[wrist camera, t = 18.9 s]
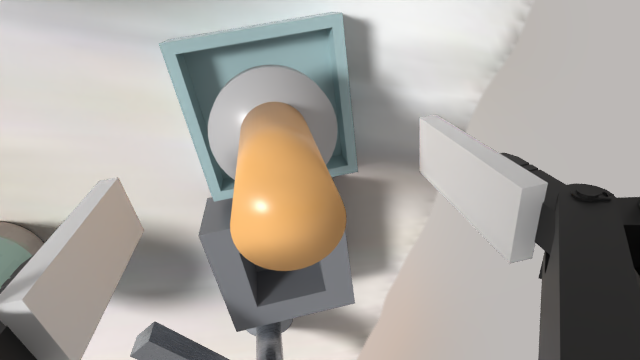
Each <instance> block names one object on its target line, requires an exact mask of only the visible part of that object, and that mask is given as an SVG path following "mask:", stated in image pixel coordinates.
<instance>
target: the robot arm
mask: <svg viewBox="0 0 640 360" xmlns="http://www.w3.org/2000/svg"><path fill="white" fill-rule="evenodd" d="M420 173H421V174H422V175H423V176H424V177H425V178H426V179H427V180H428V181H429V182H430V183H431V184H432V185H433V186H434V187H435V188H436V189H437V190H438V191H439V192H440V193H441V194H442V195H443V196H444V197H445V198H446V199H447V200H448V201H449V202H450V203H451V204H452V205H453V206H454V207H455V208H456V210H457V211H458V212H459V213H460V214H461V215H462V216H463V217H464V218H465V219H466V220H467V221H468V222H469V223H470V224H471V225H472V226H473V227H474V228H475V229H476V230H477V231H478V232H479V233H480V234H481V235H482V236H483V237H484V238H485V239H486V240H487V241H488V242H489V243H490V244H491V245H492V246H493V247H494V248H495V249H496V250H497V251H498V252H499V253H500V254H501V255H502V257H504V258H505V259H506V261H507V262H508V263H514V262H518V261H523V260H527V259H531V258H532V256H533V252H534V247H535V243H537V244H538V245H539V246H540V247H541V248H542V249H544V250H545V253H544V257H543V261H542V266H541V270H540V274H539V278H540V279H542V290H541V313H540V336H539V359H538V360H640V197H628V198H616V197H615V196H614V194H612V193H610V192H609V191H607V190H605V189H602V188H600V187H597V186H592V185H587V184H570V185H565V184H564V183H562V182H560V181H559V180H557V179H555V178H554V177H552V176H550V175H548V174H547V173H545V172H543V171H542V170H538V168H536V167H535V166H533V165H529V163H528V162H526V161H524V160H523V159H521V158H519V157H517V156H513V155H510V154H507V153H498V152H497V151H495V150H493V149H492V148H490V147H488V146H487V145H485V144H483V143H482V142H480V141H479V140H477V139H475V138H474V137H472V136H470V135H469V134H467V133H466V132H464V131H462V130H461V129H459V128H457V127H456V126H454V125H452V124H451V123H449V122H448V121H446V120H444V119H443V118H441V117H439V116H438V115H436V114H435V115H430V116H425V117H420ZM143 231H144V229H143V227H142V225H141V223H140V221H139V219H138V217H137V215H136V213H135V211H134V209H133V207H132V205H131V202H130V200H129V198H128V196H127V194H126V192H125V190H124V188H123V186H122V184H121V182H120V180H119V178H118V177H117V178H112V179H107V180H102V181H99V182H98V183H97V184H96V185H95V186H94V188H93V189H92V190H91V191H90V192H89V193H88V194H87V196H86V197H85V198H84V199H83V200H82V201H81V202H80V204H79V205H78V206H77V207H76V208H75V209H74V210H73V211H72V213H71V214H70V215H69V216H68V217H67V218H66V219H65V221H64V222H63V223H62V224H61V225H60V226H59V227H58V229H57V230H56V231H55V232H54V233H53V234H52V235H51V237H50V238H49V239H48V240H47V241H46V242H45V243H44V245H43V246H42V247H41V248H40V249H39V250H38V251H37V253H35V254H34V255H33V256H31V257H30V258H29V259H27V260H26V261H25V262H23V263H22V264H21V265H20V266H19V267H18V268H17V269H16V270H15V271H14V272H13V273H12V275H11V276H10V279H7V280H6V281H5V282H4V283H3V285H2V286H1V289H0V360H81V358H82V356H83V354H84V352H85V350H86V348H87V346H88V344H89V342H90V340H91V338H92V336H93V334H94V332H95V330H96V328H97V326H98V324H99V322H100V320H101V317H102V315H103V313H104V311H105V309H106V307H107V305H108V303H109V301H110V299H111V297H112V295H113V293H114V291H115V289H116V287H117V285H118V283H119V281H120V279H121V277H122V274H123V272H124V270H125V268H126V266H127V264H128V262H129V260H130V258H131V256H132V254H133V252H134V250H135V248H136V246H137V244H138V242H139V240H140V238H141V236H142V234H143Z"/></svg>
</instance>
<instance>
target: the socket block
mask: <svg viewBox="0 0 640 360" xmlns="http://www.w3.org/2000/svg"><path fill="white" fill-rule="evenodd" d="M232 202H233V198H229V199H225V200H220V201H215V202H214V201H213V198H208V199H207V203H206V207H205V211H204V215H203V219H202V223H201V227H200V232H199V238H200V241H201V243H202V246H203V248H204V251H205V253H206V256H207V258H208V261H209V263H210V266H211V268H212V271H213V273H214V276H215V278H216V281H217V283H218V286H219V288H220V291H221V294H222V296H223V299H224V301H225V304H226V306H227V309H228V311H229V314H230V316H231V319H232V321H233V324H234V326H235V329H236V331H237V332H238V331H242V330H247V331H248V332H249V333H250V334H252V335H255V336H256V327H259V326H263V325H267V324H271V323H275V322H280V323H281V333H282V332H284V331H285V330H287V329H288V328H289V326H290V325H291V323H292V320H293V318H296V317H300V316H304V315H309V314H313V313H317V312H321V311H325V310H329V309H333V308H338V307H342V306H346V305H350V304H354V303H355V300H354V293H353V285H352V278H351V270H350V263H349V255H348V248H347V240H346V232H345V231H344V234H343V236H342V238H341V240H340V242H339V243H338V245H337V246H336V247H335V249H334V250H333V251H332V252H331V253H330V254H329V255H328V256H326V257H325V258H324V259H322V260H321V261H319V262H317V263H315V264H313V265H311V266H308V267H306V268H302V269H298V270H292V271H276V270H270V269H266V268H263V267H260V266H258V265H256V264H254V263H252V262H250V261H249V260H248V259H246V258H245V257H244V256H243V255H242V254H241V253H240V252H239V250H238V249H237V248H236V246H235V244H234V242H233V239H232V236H231V232H230V220H231V211H232Z"/></svg>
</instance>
